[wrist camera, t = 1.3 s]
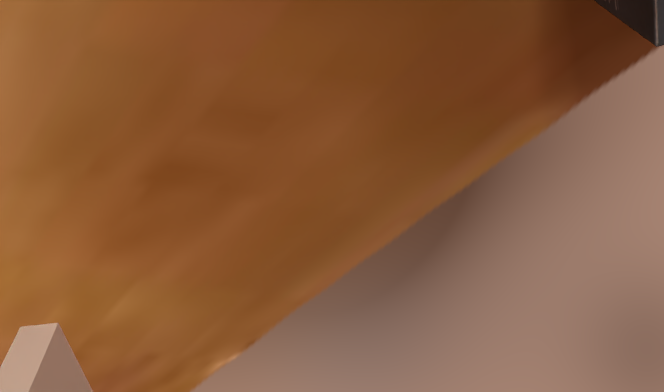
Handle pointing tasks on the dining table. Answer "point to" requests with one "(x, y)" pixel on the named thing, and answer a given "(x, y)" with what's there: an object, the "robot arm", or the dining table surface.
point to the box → (640, 16)
